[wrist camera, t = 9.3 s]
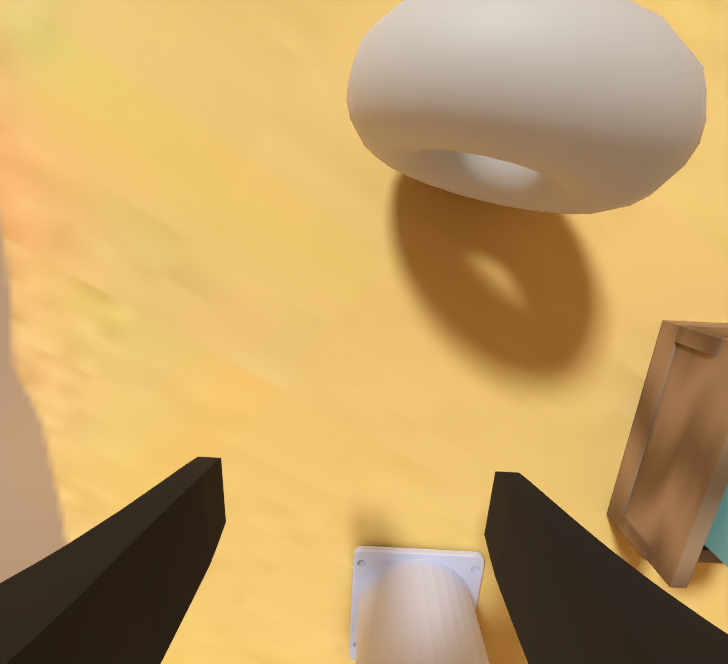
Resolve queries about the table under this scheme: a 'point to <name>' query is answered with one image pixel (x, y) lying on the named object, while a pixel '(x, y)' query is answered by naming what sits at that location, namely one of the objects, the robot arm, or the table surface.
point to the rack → (677, 451)
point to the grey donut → (529, 100)
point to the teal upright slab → (719, 531)
